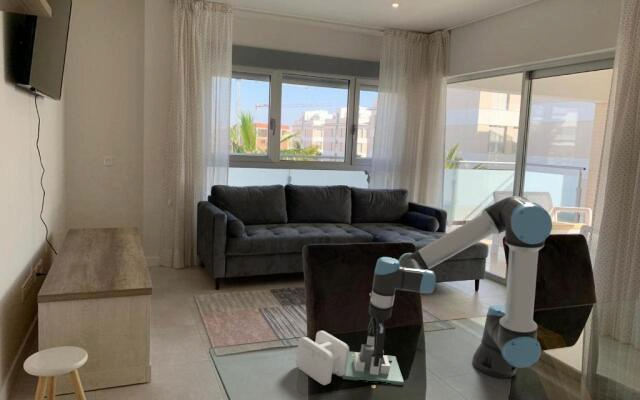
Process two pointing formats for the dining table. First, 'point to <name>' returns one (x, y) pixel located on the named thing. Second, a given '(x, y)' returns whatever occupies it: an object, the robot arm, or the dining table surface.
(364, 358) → the plug
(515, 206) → the robot arm
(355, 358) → the board
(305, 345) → the cable organizer
